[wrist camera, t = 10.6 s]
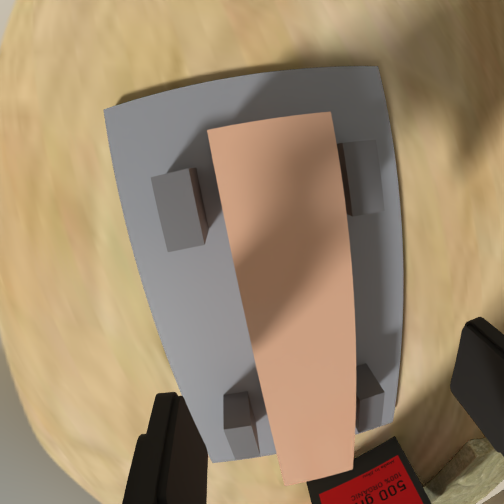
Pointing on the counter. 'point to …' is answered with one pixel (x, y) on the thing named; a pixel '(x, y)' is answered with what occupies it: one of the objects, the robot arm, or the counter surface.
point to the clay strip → (294, 283)
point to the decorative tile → (468, 475)
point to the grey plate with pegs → (218, 247)
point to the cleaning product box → (372, 480)
